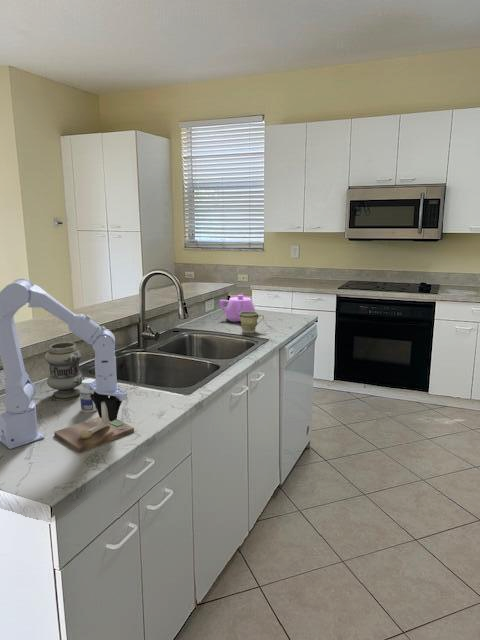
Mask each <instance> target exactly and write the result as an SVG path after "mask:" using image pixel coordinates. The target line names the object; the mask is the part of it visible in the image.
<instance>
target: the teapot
mask: <svg viewBox="0 0 480 640" xmlns="http://www.w3.org/2000/svg"><path fill="white" fill-rule="evenodd" d="M236 296H237V297H236ZM236 296H235V297H230V298H229V300H227V299H220V300H219V302H218V303H219V306H220V308H221V309H222V310H223V311H224V312H225V317H226V318H227V320H228V321H230V322H233V323H237V322H241V320H240V314H239V313H240V312H246V311H252V312H256V311H255V306H254V303H253V301H252V298H250V297H245V296H244V294H237V295H236ZM224 303H226V308H225V305H224Z"/></svg>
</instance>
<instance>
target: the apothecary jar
mask: <svg viewBox="0 0 480 640" xmlns="http://www.w3.org/2000/svg"><path fill="white" fill-rule="evenodd" d="M82 358H83V353H82V351H81V350H80V349H78V348H77V345H76V343H75V342H72V341H60V342H55V343H52V344H50V346H49V347H48V351H47V352H46V354H45V356H44V360H45V362H46V363H47V364H49V376H48V377H47V379H46V384H47V385H48V387H49V388H51V389H53V390H56V391H54V392H53V393H52V395H51V398H52V399H53V400H55V401H69V400H73V399H77V398H80V389H79V388H77V387H79V386H82V380H85V375H84V373H83V372H82V371H81V369H80V360H81V359H82Z"/></svg>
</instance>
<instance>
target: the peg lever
mask: <svg viewBox="0 0 480 640" xmlns="http://www.w3.org/2000/svg"><path fill="white" fill-rule="evenodd" d="M101 413H102V423H101V424H99V425H97V426H95V427H93V428H91V429H89V430H83V431H81V432H80V438H82V439H87V438H90V437H91V436H92V433H94V432H96V431H98V430H99V429H101V428H103V427H105V426H107V425H109V424H111V421H109V416H108V410H107V406H106V404H105V402H104V401H102V402H101Z"/></svg>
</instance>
